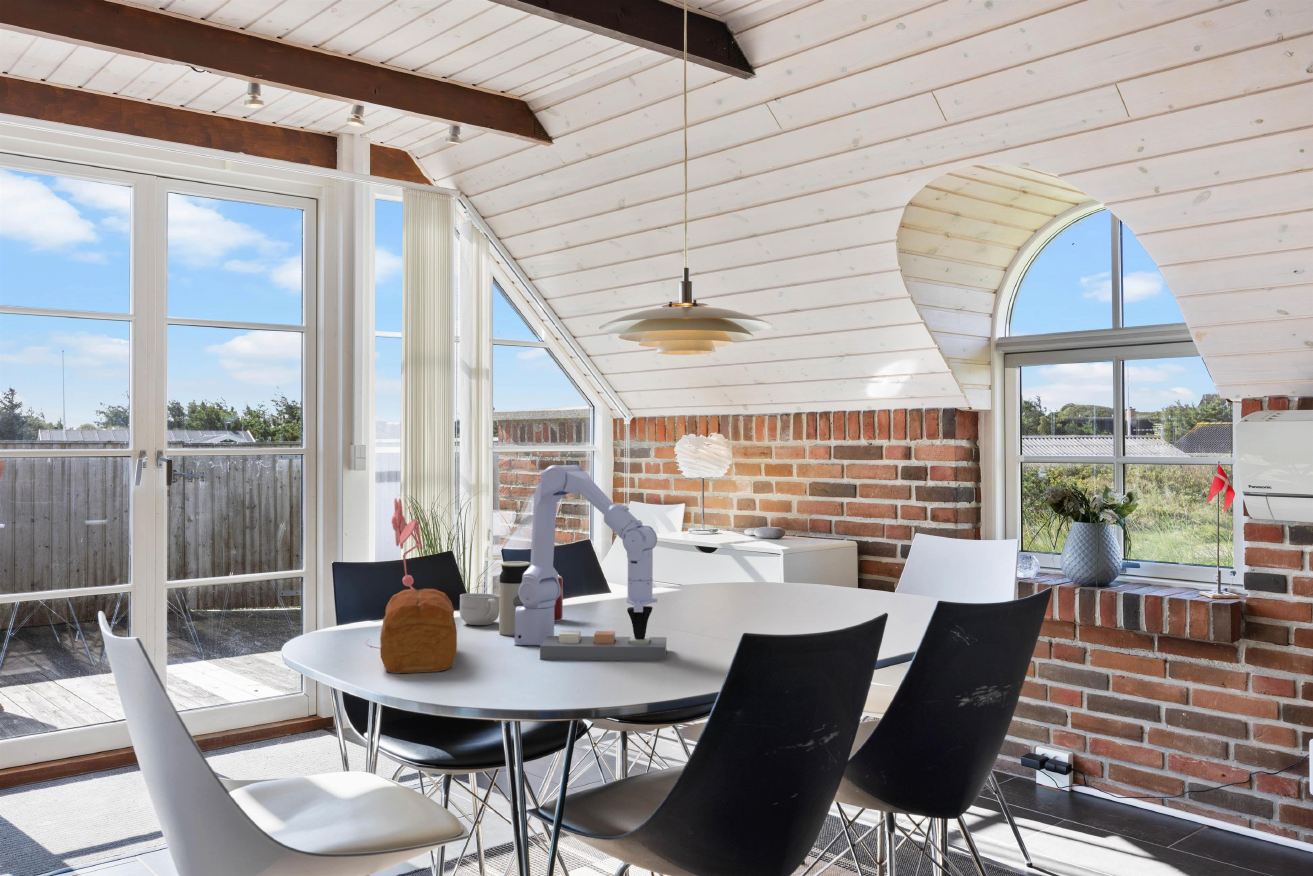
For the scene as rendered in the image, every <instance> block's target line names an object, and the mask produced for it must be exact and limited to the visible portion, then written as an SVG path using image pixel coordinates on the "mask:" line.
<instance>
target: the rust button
mask: <svg viewBox="0 0 1313 876" xmlns="http://www.w3.org/2000/svg"><path fill="white" fill-rule="evenodd" d="M593 636H594V643H597V644H615V637H616V631H615V630H595V632H594V635H593Z"/></svg>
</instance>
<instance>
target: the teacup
mask: <svg viewBox="0 0 1313 876" xmlns="http://www.w3.org/2000/svg"><path fill="white" fill-rule="evenodd" d="M459 615H460V616H459V617H460V618H461V620H463V622H465V624H466V625H472V626H490V625H492V624H494V622H495V621H497V619H499V594H495V593H485V592H484V593H483V592H482V593H479V592H477V593H476V592H475V593H474V592H472V593H471V592H470V593H469V592H468V593H461V594H460V595H459Z"/></svg>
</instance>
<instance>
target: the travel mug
mask: <svg viewBox="0 0 1313 876" xmlns="http://www.w3.org/2000/svg"><path fill="white" fill-rule="evenodd" d="M500 566H501V570H502V571H501V572H500V574H499V576H498V577H499V578H498V579H499V582H498V583H499V594H498V595H499V615H498V624H499V625H498V626H499V627H498V631H499V632H498V633H499V634H500V635H502V636H506V637H515V611H516V607H517V606H523V603H522V602H521V601H520V599H519V595H518V590H519V587H520V585H521V583H522V577H523V574H524V573H525V571H526V570H527V569H528V568H529V567H530V561H521V560H517V561H516V560H515V561H514V560H512V561H510V560H509V561H502V562H500Z"/></svg>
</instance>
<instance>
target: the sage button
mask: <svg viewBox="0 0 1313 876" xmlns="http://www.w3.org/2000/svg"><path fill="white" fill-rule="evenodd" d="M629 637H630V644H650V637H651V636H645V638H644V639H635V637H634V636H629Z"/></svg>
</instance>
